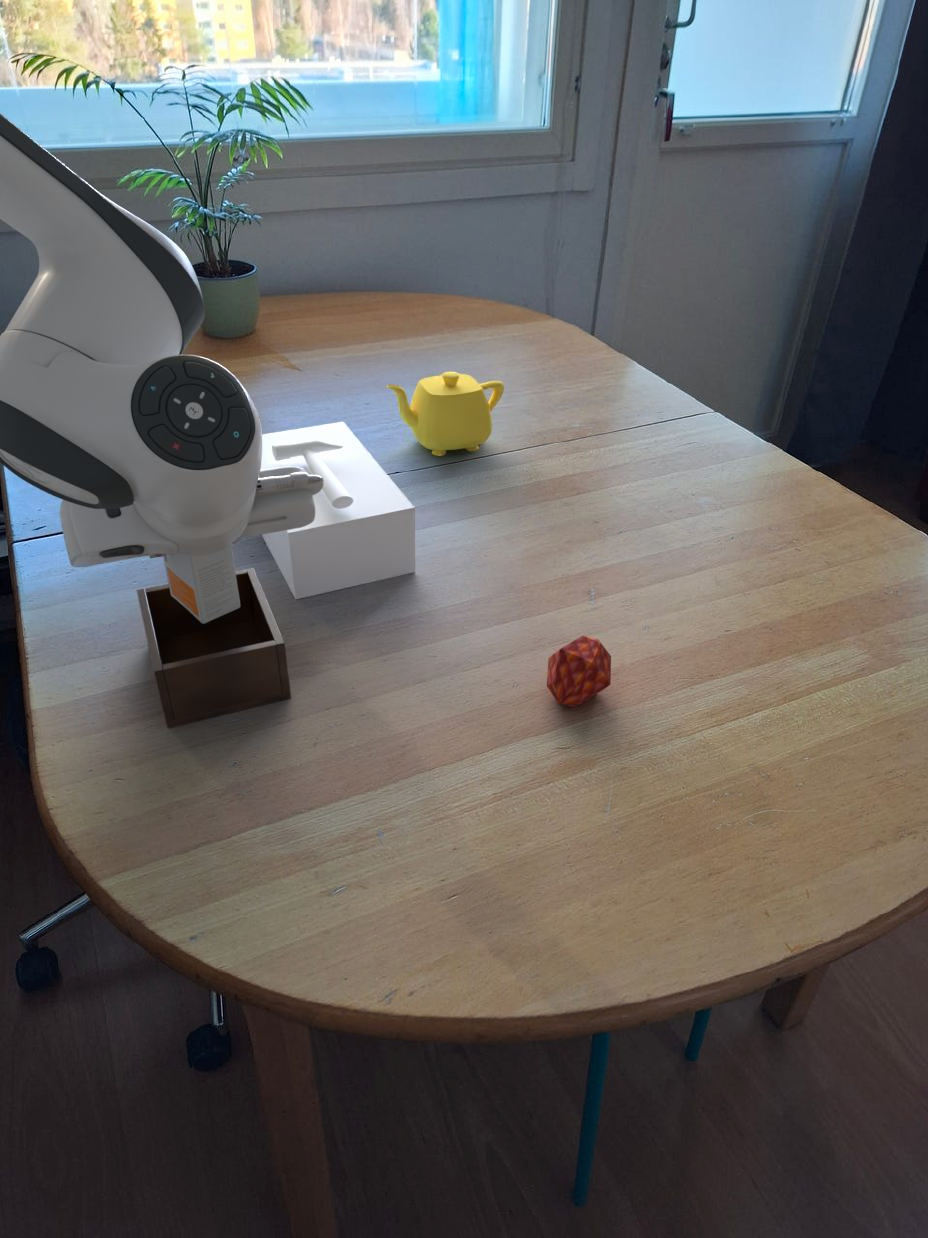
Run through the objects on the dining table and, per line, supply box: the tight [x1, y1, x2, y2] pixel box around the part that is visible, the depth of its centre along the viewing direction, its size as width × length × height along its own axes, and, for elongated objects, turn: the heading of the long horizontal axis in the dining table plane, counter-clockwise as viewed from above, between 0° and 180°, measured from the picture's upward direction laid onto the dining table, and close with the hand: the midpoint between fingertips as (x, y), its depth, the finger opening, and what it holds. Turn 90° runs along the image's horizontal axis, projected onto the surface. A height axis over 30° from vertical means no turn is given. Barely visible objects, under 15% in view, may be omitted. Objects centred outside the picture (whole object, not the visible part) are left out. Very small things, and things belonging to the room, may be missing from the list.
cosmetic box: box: [162, 544, 240, 624], centre depth 79 cm, size 6×4×12 cm
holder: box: [136, 567, 292, 729], centre depth 85 cm, size 12×14×7 cm
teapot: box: [385, 371, 505, 457], centre depth 128 cm, size 18×11×11 cm, turn 110°
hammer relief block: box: [260, 421, 416, 600], centre depth 106 cm, size 14×25×11 cm, turn 25°
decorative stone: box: [546, 635, 612, 708], centre depth 84 cm, size 6×7×8 cm
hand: (193, 542), depth 79 cm, fingers closed on cosmetic box, 5 cm apart
